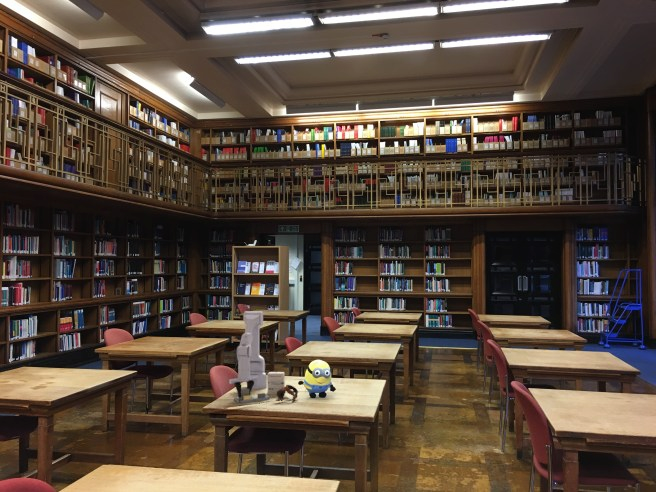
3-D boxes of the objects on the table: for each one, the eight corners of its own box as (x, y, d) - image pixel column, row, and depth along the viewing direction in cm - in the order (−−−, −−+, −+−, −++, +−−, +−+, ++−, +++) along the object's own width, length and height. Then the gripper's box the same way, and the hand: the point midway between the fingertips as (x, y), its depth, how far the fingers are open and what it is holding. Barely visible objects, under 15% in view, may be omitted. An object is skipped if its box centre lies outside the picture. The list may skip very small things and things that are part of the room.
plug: (246, 397, 254) (246, 386, 254) (249, 399, 249) (249, 388, 250) (238, 398, 252) (238, 387, 252) (241, 401, 248) (241, 389, 248)
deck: (244, 393, 267) (244, 391, 267) (248, 397, 260) (248, 395, 260) (229, 395, 263) (229, 393, 263) (233, 399, 256) (233, 397, 256)
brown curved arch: (284, 396, 262) (292, 383, 262) (295, 408, 256) (303, 394, 256) (269, 395, 253) (277, 381, 253) (280, 407, 247) (288, 393, 247)
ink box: (285, 393, 267) (285, 371, 267) (283, 396, 262) (283, 373, 262) (269, 393, 267) (269, 371, 268) (267, 395, 263) (267, 373, 263)
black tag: (264, 396, 251) (264, 392, 251) (265, 397, 251) (265, 393, 251) (257, 397, 250) (257, 393, 250) (258, 398, 249) (258, 394, 249)
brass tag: (250, 398, 248) (250, 394, 248) (250, 399, 247) (250, 395, 247) (243, 399, 246) (243, 395, 246) (243, 400, 245) (243, 396, 245)
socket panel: (264, 397, 259) (264, 393, 259) (269, 401, 251) (269, 396, 252) (233, 401, 251) (233, 397, 251) (238, 405, 244) (238, 400, 244)
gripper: (232, 372, 244) (232, 400, 244) (260, 369, 251) (260, 396, 250) (228, 369, 251) (228, 397, 250) (255, 366, 257) (255, 393, 257)
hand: (244, 396), depth 251 cm, fingers closed on plug, 4 cm apart
